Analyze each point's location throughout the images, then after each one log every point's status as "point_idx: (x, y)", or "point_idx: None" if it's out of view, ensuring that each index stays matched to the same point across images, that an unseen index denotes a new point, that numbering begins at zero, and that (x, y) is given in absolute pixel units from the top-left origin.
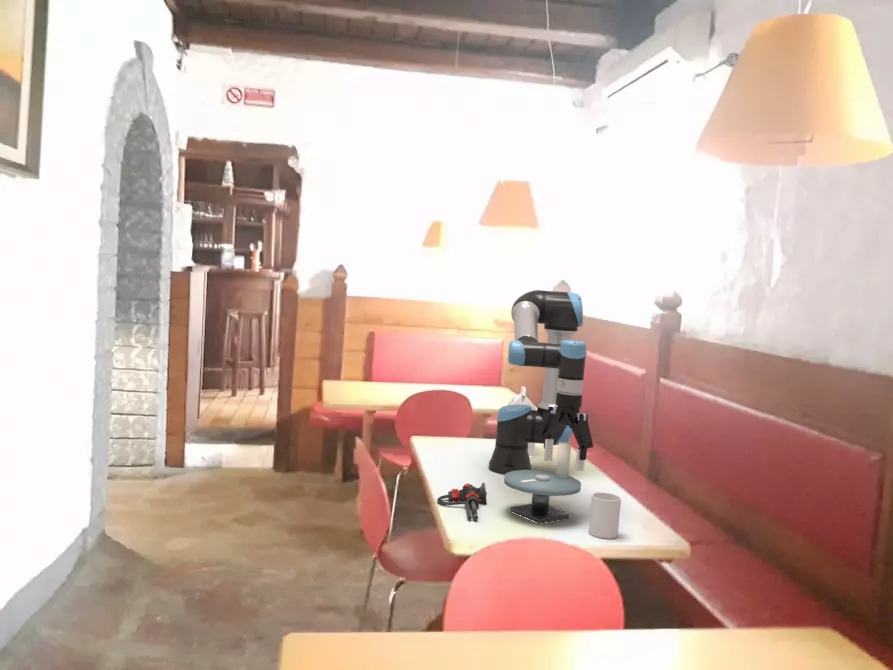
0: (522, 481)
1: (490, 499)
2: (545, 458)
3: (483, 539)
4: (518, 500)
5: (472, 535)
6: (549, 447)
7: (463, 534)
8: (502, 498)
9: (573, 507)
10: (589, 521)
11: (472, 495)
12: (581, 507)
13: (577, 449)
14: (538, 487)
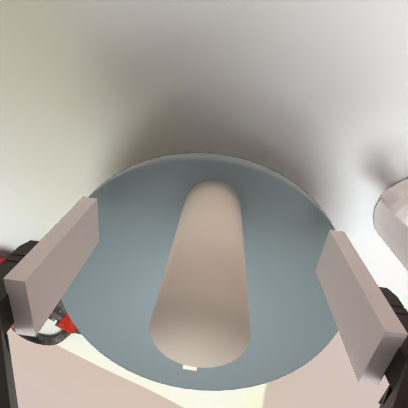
0: (190, 368)
1: (39, 227)
2: (93, 249)
3: (247, 400)
4: (71, 167)
5: (222, 400)
6: (63, 269)
7: (210, 405)
8: (39, 193)
9: (207, 60)
10: (391, 250)
11: (73, 330)
12: (223, 28)
13: (361, 375)
14: (260, 372)
